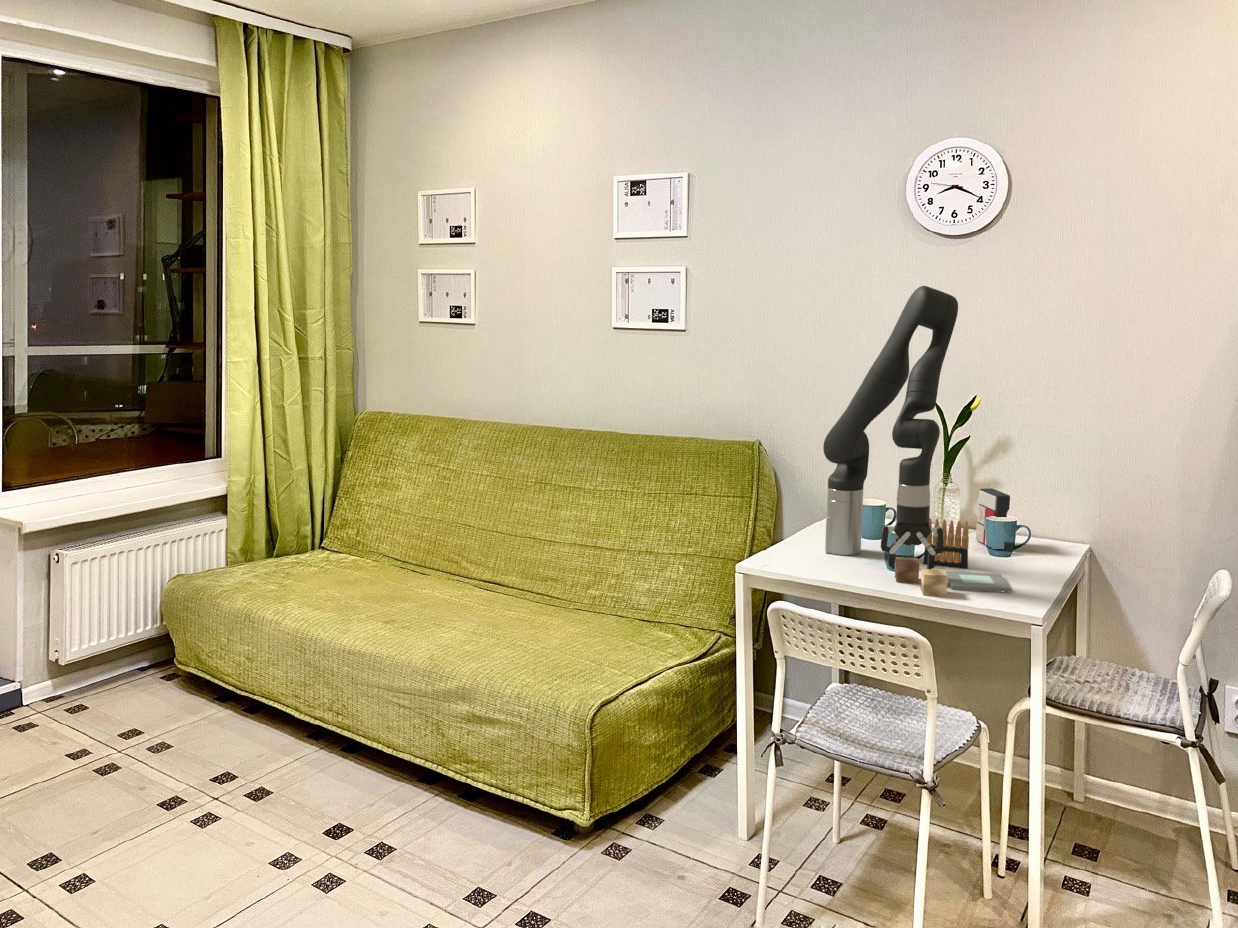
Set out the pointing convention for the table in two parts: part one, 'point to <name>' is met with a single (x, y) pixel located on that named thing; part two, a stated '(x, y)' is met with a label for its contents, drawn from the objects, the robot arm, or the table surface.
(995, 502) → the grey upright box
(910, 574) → the walnut block
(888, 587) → the table surface
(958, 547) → the ammunition clip
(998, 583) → the baseplate
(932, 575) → the maple block
